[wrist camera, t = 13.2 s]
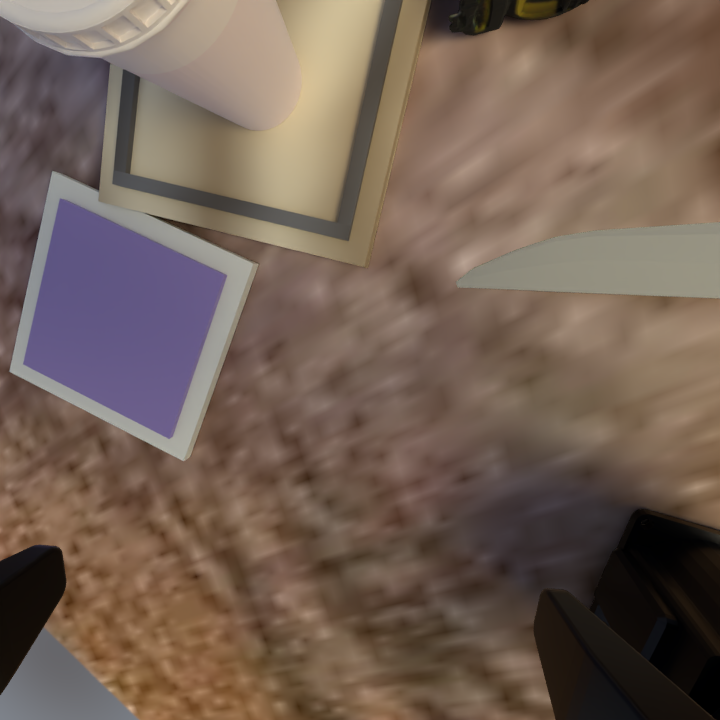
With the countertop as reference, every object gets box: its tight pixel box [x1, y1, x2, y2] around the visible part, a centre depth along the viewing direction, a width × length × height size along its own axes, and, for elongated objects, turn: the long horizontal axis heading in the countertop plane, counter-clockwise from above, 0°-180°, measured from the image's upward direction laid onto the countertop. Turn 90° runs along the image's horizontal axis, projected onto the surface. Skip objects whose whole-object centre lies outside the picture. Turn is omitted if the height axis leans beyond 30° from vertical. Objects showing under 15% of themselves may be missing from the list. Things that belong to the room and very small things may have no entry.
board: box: [98, 0, 432, 268], centre depth 17 cm, size 13×13×1 cm
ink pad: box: [9, 171, 259, 461], centre depth 21 cm, size 11×11×1 cm
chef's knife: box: [456, 222, 720, 299], centre depth 16 cm, size 19×1×3 cm
